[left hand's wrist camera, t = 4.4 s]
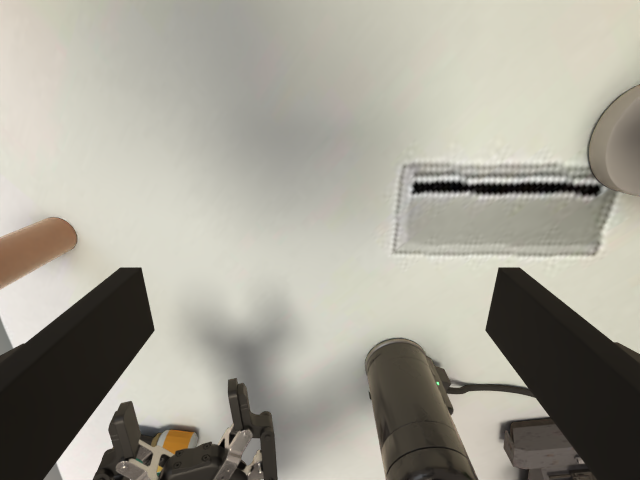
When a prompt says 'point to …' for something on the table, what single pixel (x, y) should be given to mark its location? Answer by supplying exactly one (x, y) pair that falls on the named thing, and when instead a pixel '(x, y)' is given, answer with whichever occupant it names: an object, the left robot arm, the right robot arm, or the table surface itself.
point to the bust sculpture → (618, 145)
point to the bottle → (33, 248)
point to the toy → (544, 452)
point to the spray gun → (171, 441)
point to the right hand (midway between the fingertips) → (178, 396)
